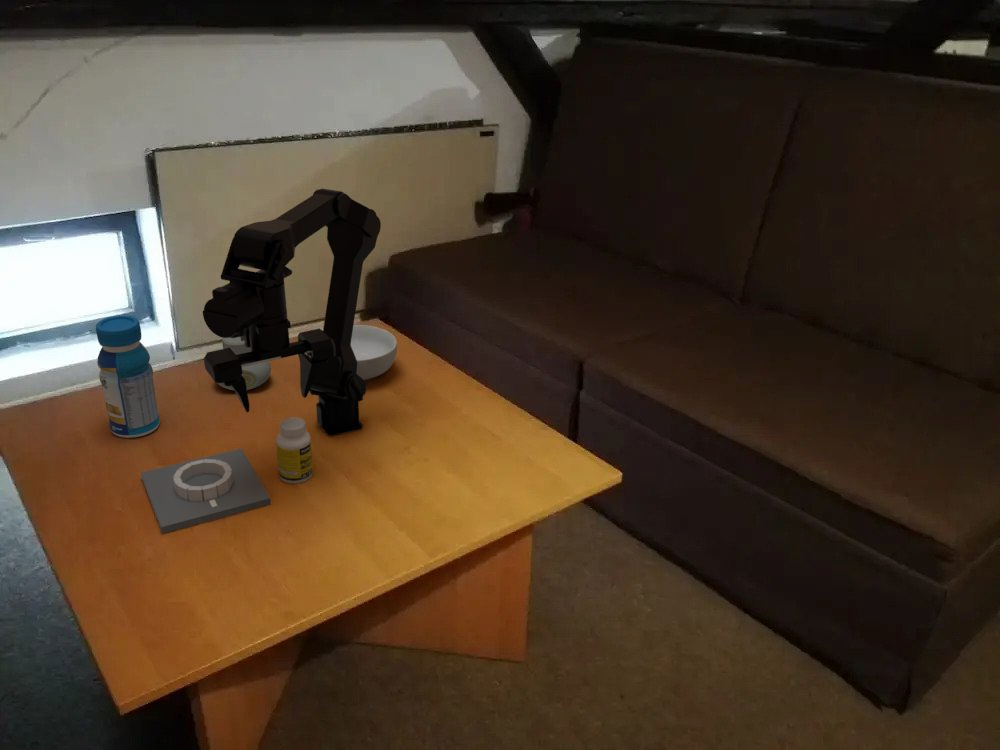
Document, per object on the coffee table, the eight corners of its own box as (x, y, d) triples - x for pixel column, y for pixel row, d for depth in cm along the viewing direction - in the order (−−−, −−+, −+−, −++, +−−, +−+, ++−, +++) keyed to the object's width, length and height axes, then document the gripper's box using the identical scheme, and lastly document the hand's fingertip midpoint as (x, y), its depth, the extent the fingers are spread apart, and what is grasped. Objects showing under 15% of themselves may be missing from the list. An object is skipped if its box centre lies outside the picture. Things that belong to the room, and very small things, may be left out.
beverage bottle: (153, 439, 149) (135, 333, 140) (102, 439, 148) (81, 332, 139) (167, 415, 156) (151, 312, 147) (118, 415, 156) (99, 312, 147)
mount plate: (242, 454, 146) (240, 438, 144) (270, 504, 134) (269, 487, 132) (141, 478, 138) (138, 461, 137) (162, 533, 126) (159, 515, 125)
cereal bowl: (314, 396, 165) (312, 362, 162) (309, 358, 179) (307, 327, 176) (403, 388, 169) (402, 356, 166) (391, 352, 183) (390, 321, 180)
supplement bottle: (305, 487, 138) (301, 434, 134) (273, 482, 139) (268, 429, 135) (318, 468, 143) (315, 417, 138) (287, 464, 144) (283, 412, 139)
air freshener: (274, 373, 173) (270, 327, 168) (270, 393, 165) (265, 345, 161) (217, 375, 171) (211, 328, 166) (210, 395, 164) (204, 347, 159)
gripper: (306, 282, 139) (312, 369, 146) (187, 304, 129) (200, 396, 137) (334, 306, 130) (339, 397, 138) (209, 332, 121) (222, 428, 128)
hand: (275, 403), depth 135 cm, fingers open, 9 cm apart
